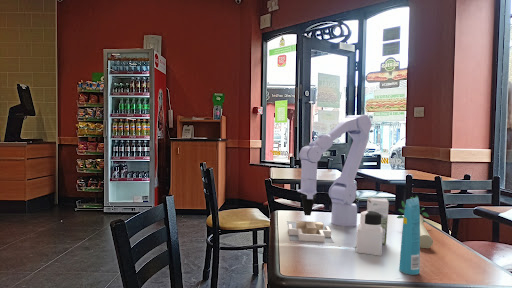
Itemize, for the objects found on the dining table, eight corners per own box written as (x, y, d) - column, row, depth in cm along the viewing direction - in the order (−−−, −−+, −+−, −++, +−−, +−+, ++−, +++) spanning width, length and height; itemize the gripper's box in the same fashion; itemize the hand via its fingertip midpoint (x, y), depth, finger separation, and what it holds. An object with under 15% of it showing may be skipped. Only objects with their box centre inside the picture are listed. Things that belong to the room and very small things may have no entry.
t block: (321, 232, 127) (322, 222, 127) (325, 239, 118) (325, 228, 118) (296, 230, 127) (296, 220, 127) (297, 237, 118) (298, 227, 118)
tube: (404, 265, 98) (408, 195, 98) (423, 270, 95) (427, 198, 95) (394, 273, 93) (398, 198, 92) (414, 278, 90) (418, 201, 89)
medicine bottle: (381, 249, 113) (383, 211, 112) (381, 256, 106) (383, 215, 106) (357, 246, 115) (359, 208, 115) (356, 252, 108) (358, 212, 108)
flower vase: (411, 268, 118) (397, 221, 151) (451, 263, 114) (428, 216, 147) (402, 236, 116) (390, 196, 149) (443, 229, 113) (421, 189, 146)
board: (323, 225, 140) (323, 223, 140) (334, 245, 114) (334, 242, 114) (286, 223, 141) (287, 221, 141) (289, 242, 115) (290, 240, 115)
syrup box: (382, 239, 124) (384, 197, 123) (386, 244, 118) (388, 200, 118) (365, 238, 124) (367, 196, 124) (368, 243, 118) (371, 199, 118)
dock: (327, 231, 128) (328, 226, 128) (334, 242, 115) (334, 236, 115) (288, 229, 129) (288, 223, 128) (289, 239, 116) (290, 233, 116)
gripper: (296, 175, 141) (295, 210, 142) (299, 180, 127) (297, 219, 127) (314, 176, 141) (313, 211, 141) (319, 181, 126) (318, 220, 127)
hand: (307, 215), depth 134 cm, fingers closed
